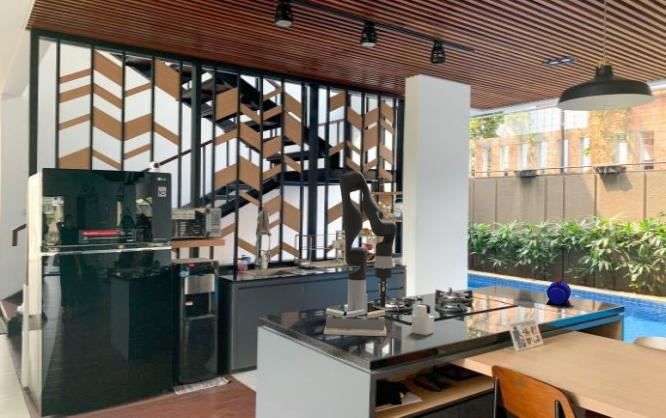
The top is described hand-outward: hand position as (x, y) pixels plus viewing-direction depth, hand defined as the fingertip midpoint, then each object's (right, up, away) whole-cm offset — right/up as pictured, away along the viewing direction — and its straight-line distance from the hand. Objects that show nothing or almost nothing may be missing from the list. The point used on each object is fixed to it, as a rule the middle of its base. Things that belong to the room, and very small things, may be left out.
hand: (382, 306), depth 222 cm
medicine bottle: (+17, -11, -1) cm, 20 cm away
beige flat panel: (-2, -5, 0) cm, 5 cm away
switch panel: (-12, -11, -1) cm, 16 cm away
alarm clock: (+108, -13, +74) cm, 132 cm away
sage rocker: (-21, -5, +2) cm, 22 cm away
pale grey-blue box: (-11, -5, +1) cm, 12 cm away
